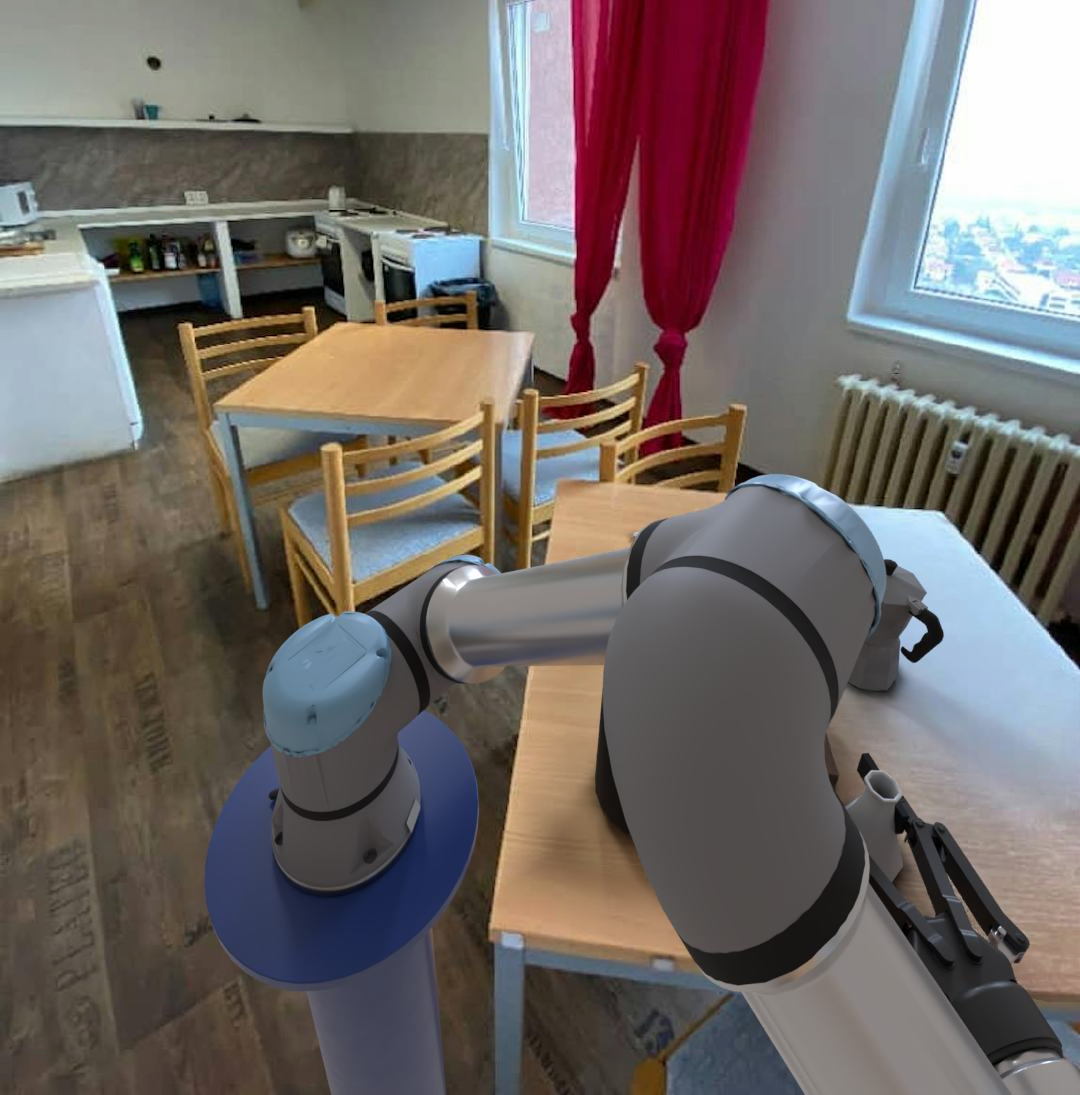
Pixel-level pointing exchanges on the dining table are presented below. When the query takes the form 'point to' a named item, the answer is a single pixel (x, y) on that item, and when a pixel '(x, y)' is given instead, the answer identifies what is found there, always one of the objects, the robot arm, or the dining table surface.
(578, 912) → the dining table surface
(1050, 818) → the dining table surface
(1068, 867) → the dining table surface
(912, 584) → the coffeepot
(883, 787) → the flask
